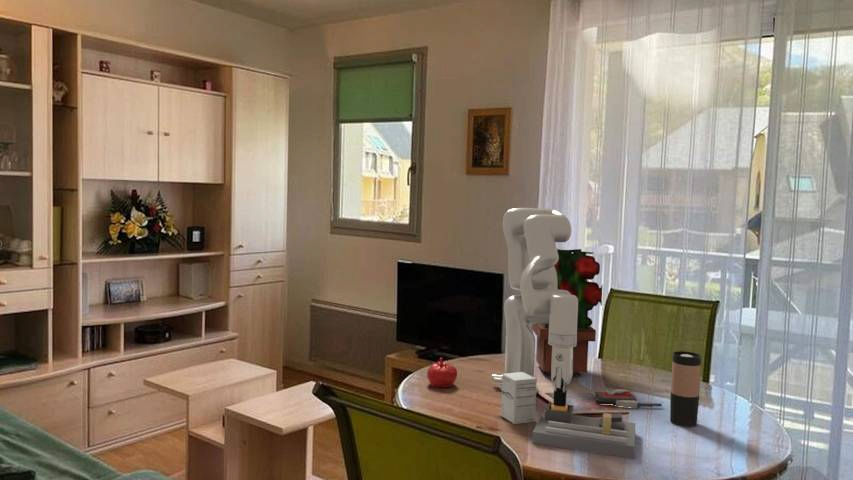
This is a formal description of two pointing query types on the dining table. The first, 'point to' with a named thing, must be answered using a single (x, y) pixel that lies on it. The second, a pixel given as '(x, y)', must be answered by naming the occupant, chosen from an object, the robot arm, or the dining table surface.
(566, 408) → the orange button
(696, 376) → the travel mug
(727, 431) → the dining table surface
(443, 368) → the pomegranate
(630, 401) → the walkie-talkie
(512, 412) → the supplement box
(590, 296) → the potted plant
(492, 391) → the dining table surface
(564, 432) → the panel
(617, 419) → the black rocker
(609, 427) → the golden rectangular block
